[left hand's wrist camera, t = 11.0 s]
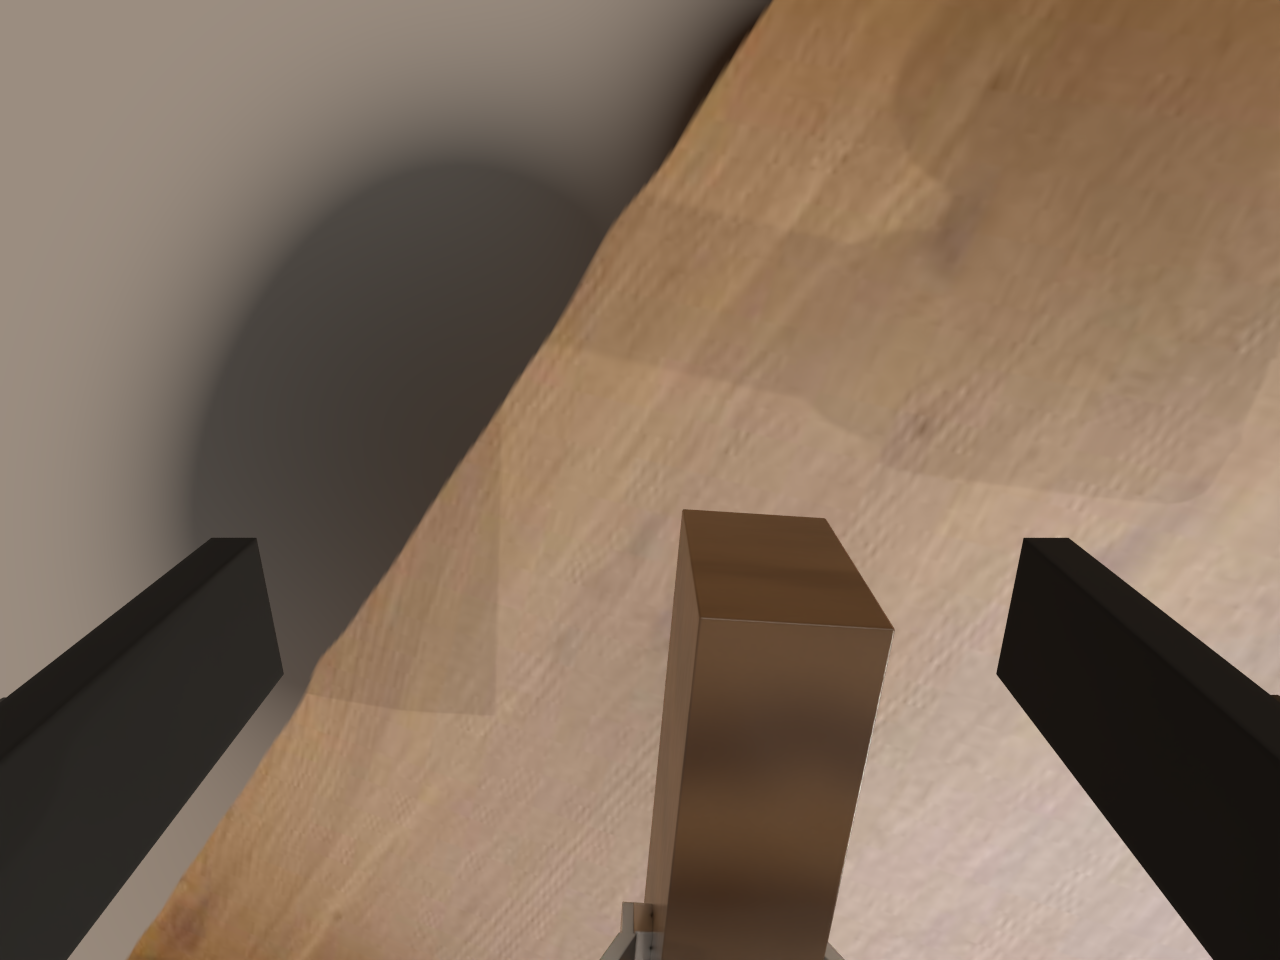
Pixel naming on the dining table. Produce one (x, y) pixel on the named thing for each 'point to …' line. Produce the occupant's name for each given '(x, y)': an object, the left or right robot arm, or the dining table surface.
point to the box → (761, 737)
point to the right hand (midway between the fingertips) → (718, 915)
